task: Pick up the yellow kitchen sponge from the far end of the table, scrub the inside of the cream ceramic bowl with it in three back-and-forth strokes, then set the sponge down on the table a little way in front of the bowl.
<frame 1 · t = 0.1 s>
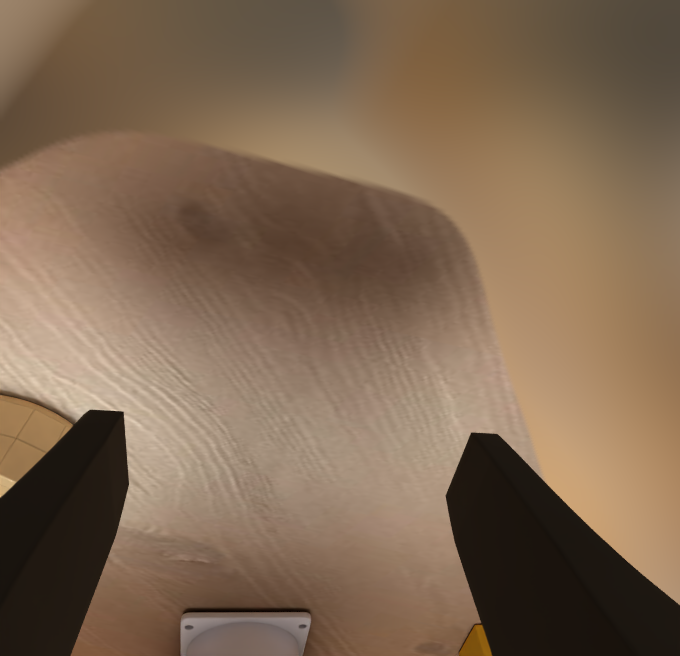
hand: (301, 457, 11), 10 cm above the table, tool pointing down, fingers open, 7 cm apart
sponge: (483, 638, 36), on the table
bowl: (4, 464, 23), on the table
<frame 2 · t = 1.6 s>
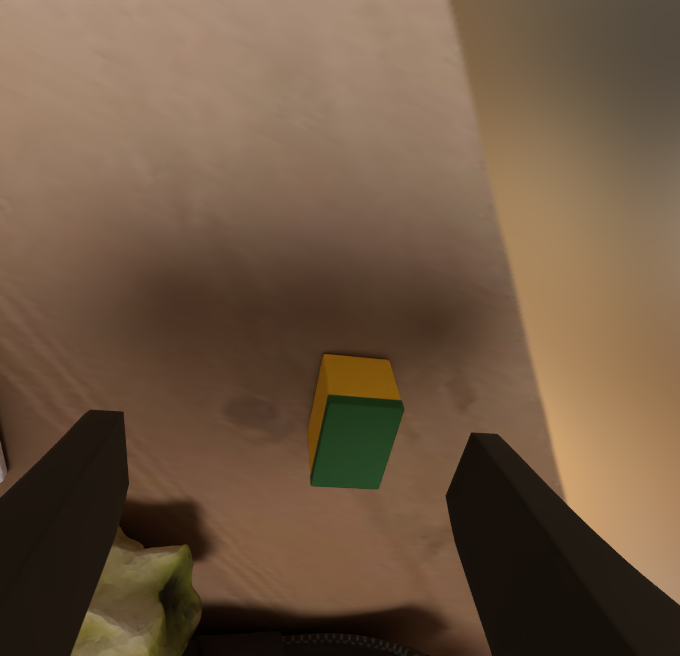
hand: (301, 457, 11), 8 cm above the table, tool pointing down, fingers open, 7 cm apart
sponge: (346, 396, 20), on the table
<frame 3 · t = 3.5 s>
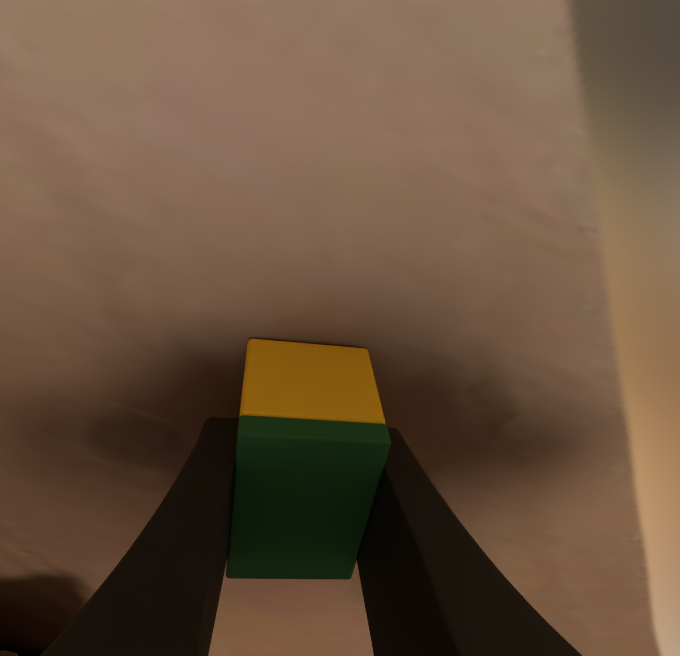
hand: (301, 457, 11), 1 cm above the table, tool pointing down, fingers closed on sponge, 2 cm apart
sponge: (298, 412, 12), on the table, touching gripper
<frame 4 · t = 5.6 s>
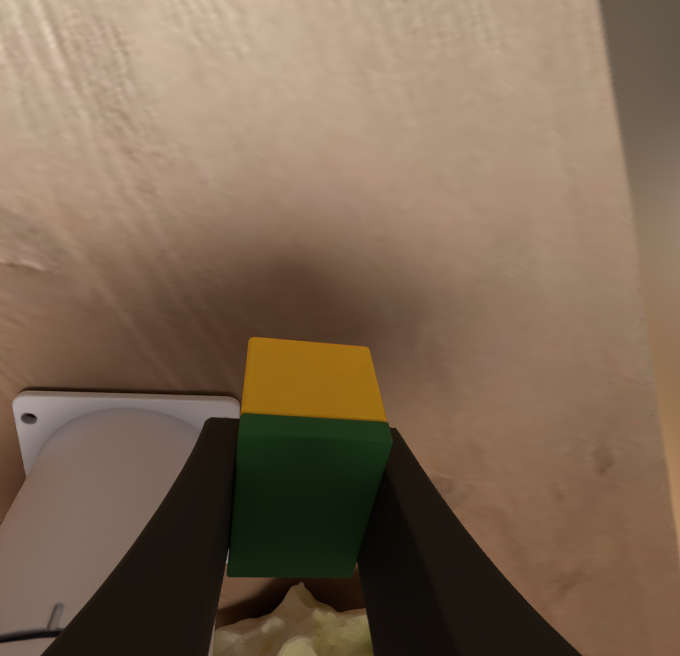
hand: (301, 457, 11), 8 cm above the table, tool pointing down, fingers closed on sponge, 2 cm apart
sponge: (299, 410, 12), point 7 cm above the table, touching gripper
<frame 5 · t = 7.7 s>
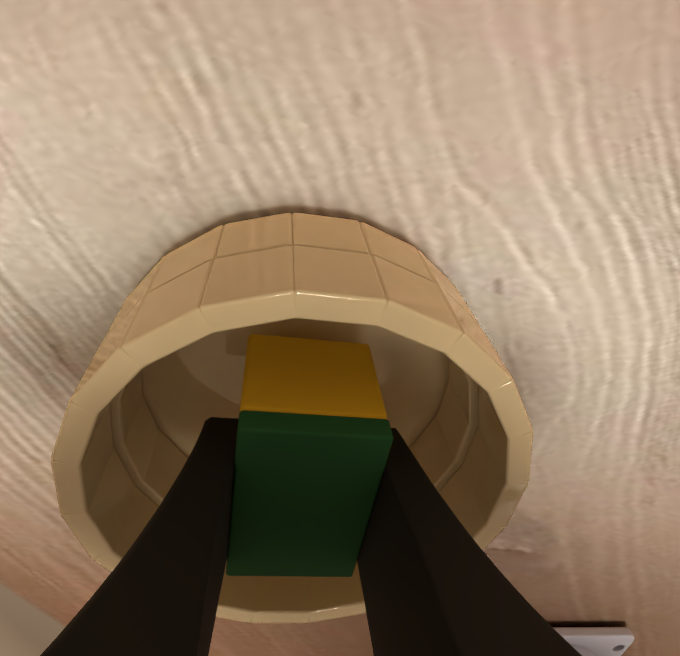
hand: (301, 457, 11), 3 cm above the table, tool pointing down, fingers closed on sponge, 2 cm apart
sponge: (298, 408, 12), point 2 cm above the table, touching gripper
bowl: (299, 373, 13), on the table
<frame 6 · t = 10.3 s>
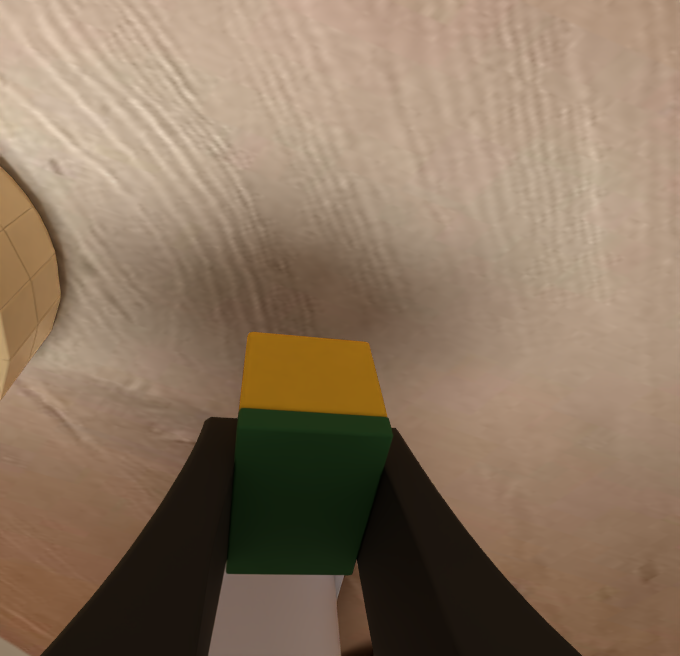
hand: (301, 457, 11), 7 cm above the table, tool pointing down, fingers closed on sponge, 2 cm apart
sponge: (298, 406, 12), point 6 cm above the table, touching gripper
when the fingers open (1 cm above the table, at t = 12.2 s): sponge stays where it is, on the table.
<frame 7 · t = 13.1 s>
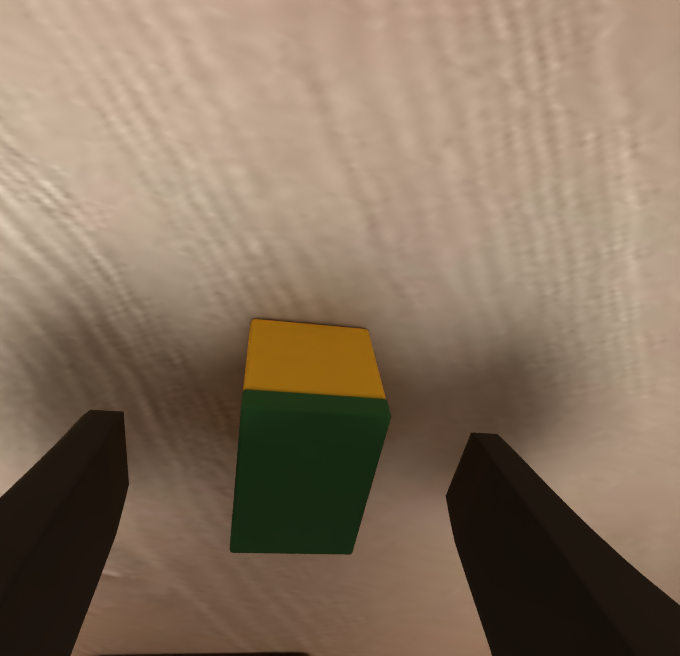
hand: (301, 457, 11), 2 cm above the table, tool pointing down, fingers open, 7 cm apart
sponge: (300, 393, 12), on the table
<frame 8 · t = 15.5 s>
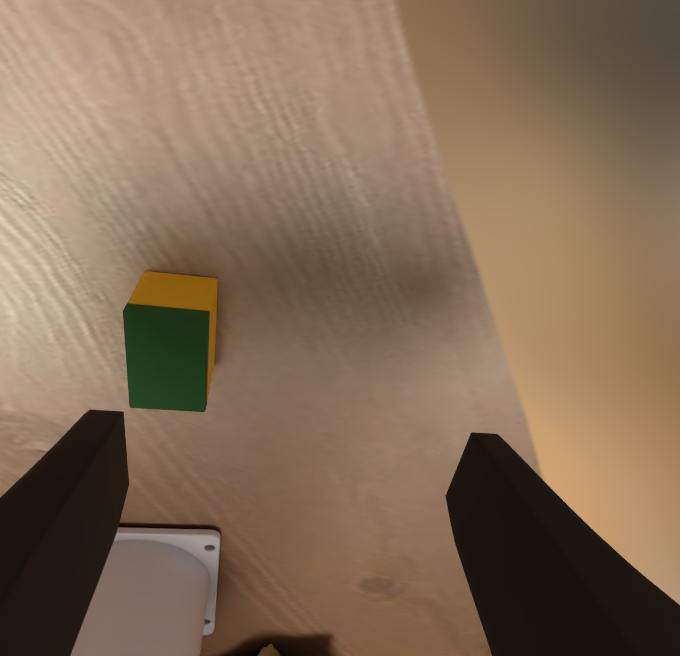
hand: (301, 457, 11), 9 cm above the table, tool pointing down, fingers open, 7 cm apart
sponge: (181, 320, 19), on the table
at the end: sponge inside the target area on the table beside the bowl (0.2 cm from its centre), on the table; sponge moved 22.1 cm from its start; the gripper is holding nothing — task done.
